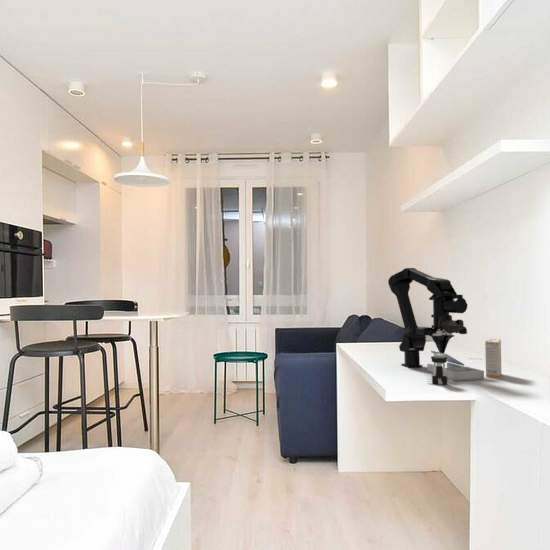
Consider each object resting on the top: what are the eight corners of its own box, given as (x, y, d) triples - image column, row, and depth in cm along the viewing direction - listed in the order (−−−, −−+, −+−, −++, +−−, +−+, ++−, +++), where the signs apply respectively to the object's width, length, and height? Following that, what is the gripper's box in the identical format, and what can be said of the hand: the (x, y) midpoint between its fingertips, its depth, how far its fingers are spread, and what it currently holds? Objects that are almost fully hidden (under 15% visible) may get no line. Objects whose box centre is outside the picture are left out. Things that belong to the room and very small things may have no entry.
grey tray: (425, 371, 177) (425, 363, 177) (450, 369, 180) (450, 362, 180) (455, 381, 159) (455, 372, 159) (484, 379, 162) (483, 370, 162)
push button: (427, 384, 154) (427, 355, 154) (426, 381, 159) (426, 352, 159) (448, 385, 152) (448, 355, 153) (446, 382, 158) (446, 353, 158)
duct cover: (430, 351, 178) (431, 350, 178) (448, 361, 180) (448, 360, 180) (445, 355, 169) (446, 354, 169) (464, 365, 170) (464, 364, 171)
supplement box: (487, 372, 174) (487, 338, 174) (501, 374, 171) (501, 339, 172) (485, 376, 167) (484, 340, 167) (499, 378, 164) (499, 341, 164)
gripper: (432, 313, 164) (433, 357, 163) (476, 312, 169) (477, 355, 168) (415, 312, 174) (415, 353, 174) (457, 311, 179) (457, 351, 179)
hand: (441, 353), depth 173 cm, fingers closed
